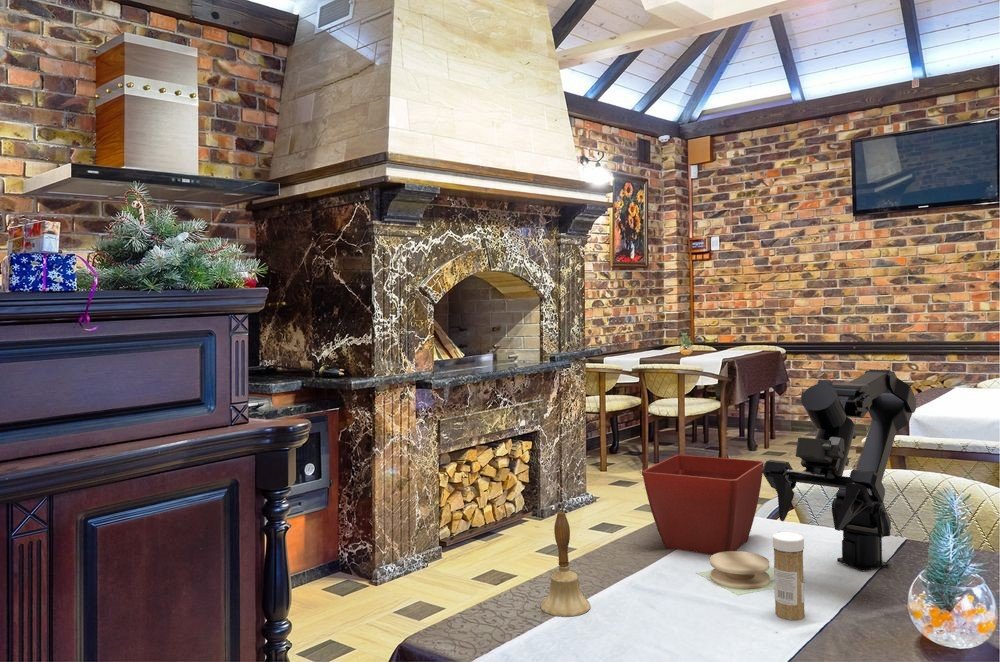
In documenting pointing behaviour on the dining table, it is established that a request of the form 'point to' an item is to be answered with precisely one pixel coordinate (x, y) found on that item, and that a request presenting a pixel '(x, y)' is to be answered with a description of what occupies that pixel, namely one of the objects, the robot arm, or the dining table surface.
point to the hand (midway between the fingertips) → (808, 524)
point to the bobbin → (739, 570)
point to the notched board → (741, 591)
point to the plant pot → (703, 501)
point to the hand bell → (564, 579)
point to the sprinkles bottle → (788, 575)
